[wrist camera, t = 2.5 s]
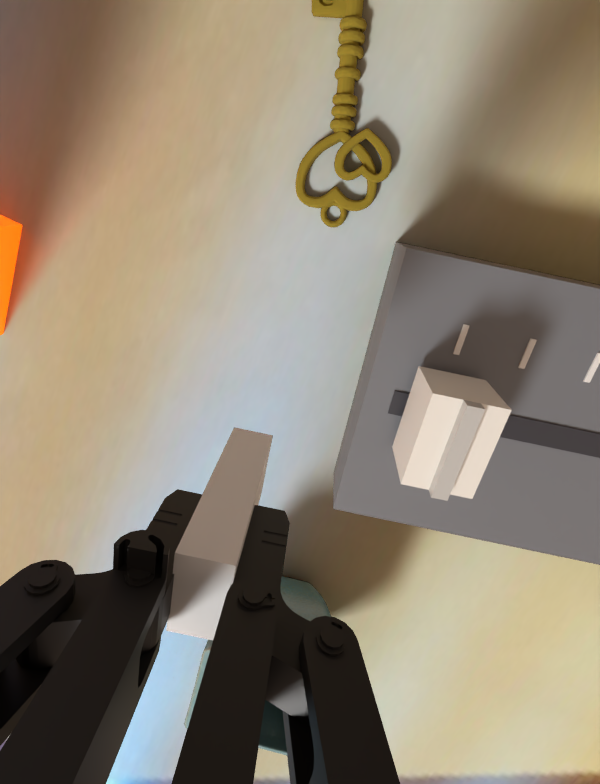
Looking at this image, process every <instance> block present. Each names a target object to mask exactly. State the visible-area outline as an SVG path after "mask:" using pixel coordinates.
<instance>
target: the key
mask: <svg viewBox="0 0 600 784" xmlns="http://www.w3.org/2000/svg"><path fill="white" fill-rule="evenodd" d="M363 2H364V0H312V13H313V16H317V17H332V18H343V19H342V20H341V22H340V28H341V30H342V32H341V33H340V34H339V38H338V39H339V43H340V44H341V46H340V47H339V48H338V52H337V54H338V57H339V58H340V65H339V68H338V69H337V70H336V72H335V77H336V79H338V86H337V94H336V95H334V97H333V103H334V104H335V105H336V106H334V107H333V108H332V112H331V113H332V115H333V116H335V117H334V120H332V121H331V123H330V127H331V129H334V133H333V134H331V135H329V136H327V137H326V138H324V139H322V140H321V141H319V142H318V143H316V144H315V145H314V146H313V147H312V148H311V149H310V150H309V151H308V152H307V154H306V155H305V156H304V158H303V159H302V161H301V163H300V166H299V169H298V172H297V177H296V192H297V196H298V198H299V199H300V201H301V202H303V203H304V204H306V205H307V206H309V207H315V208H321V218H322V221H323V222H324V223H325V224H326V225H327V226H329V227H338V226H339V225H341V224H342V223H343V222H344V221H345V219H346V215H347V210H348V211H359V210H362V209H365V208H367V207H368V206H369V205H370V204H371V203H372V202H373V200H374V197H375V195H376V190H377V183H378V182H381V181H383V180H384V179H386V178H387V177H388V175H389V173H390V171H391V166H392V159H391V155H390V152H389V150H388V148H387V147H386V145H385V144H384V143H383V142H382V141H381V140H380V138H379V137H378V136H377V135H375V134H374V133H373V132H372V131H371V130H370V129H369V128H366V129H364V130H363V131H361V132H359V133H358V134H356V135H354V136H353V137H352V136H350V135H349V134H348V133H349V130H350V131H352V130H354V128H355V123H354V122H353V121H351V117H352V118H354V117H355V116H356V113H357V111H356V108H354V107H352V106H355V105H357V102H358V98H357V96H355V95H353V94H354V85H355V81H358V80H359V79H360V76H361V73H360V71H359V70H358V69H356V66H357V59H359V60H360V59H361V58H362V57H363V54H364V52H363V48H362V47H360V46H362V45H363V44H364V42H365V35H364V34H363V32H365V30H366V27H367V23H366V21H365V20H364V19H363V18H362V11H363ZM365 139H367V140H368V141H369V142H370V143H371V144H372V145H373V146H374V147H375V149H376V150H377V152H378V153H379V155H380V157H381V161H382V168H381V171H380V172H379V173H378V174H376V169H375V165H374V163H373V160H372V158H371V157H370V155H369V153H368V152H367V151H366V149H365V148H364V147H363V146H362V145H361V144H360V142H361V141H363V140H365ZM338 142H342V143H344V144H343V145H342V146H341V148H340V149H339V150H338V152H337V154H336V158H335V162H334V166H335V171H336V173H337V175H338V176H339V177H340V178H342V179H344V180H353V179H355V178H357V177H358V176H360V175H363V176H364V177H365V178H366V179H367V185H368V186H367V194H366V196H365V198H363V199H362V200H357V201H356V200H351V199H349V198H347V197H346V196H345V195H344V194H343V193H342V192H341V191H340V190H339V188H338V187H337V186H335V187H333V188H332V189H331V190H330V191H329V192H328V193H326V194H324V195H322V196H319V197H313V196H309V195H308V194H307V193H306V191H305V180H306V176H307V173H308V171H309V169H310V167H311V165H312V164H313V162H314V161H315V159H316V158H317V157H318V156H319V155H320V154H321V153H322V152H323V151H324V150H326V149H328V148H329V147H331V146H333V145H335V144H337V143H338ZM351 150H352V151H353V152H354V153H355V154H356V155H357V157H358V158H359V160H360V161H361V163H362V165H361V166H360V167H359V168H357V169H356V170H354V171H352V172H347V171H346V170H345V169H344V161H345V158H346V156H347V154H348V153H349V152H350V151H351ZM331 206H337V207H338V208H339V209H340V212H341V214H340V217H339V219H337V220H335V221H332V220H330V219H329V218H328V217H327V210H328V208H329V207H331Z"/></svg>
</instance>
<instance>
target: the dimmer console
mask: <svg viewBox="0 0 600 784" xmlns="http://www.w3.org/2000/svg"><path fill="white" fill-rule="evenodd" d="M419 366H421V367H426V368H431V369H435V370H440V371H445V372H450V373H454V374H459V375H464V376H469V377H473V378H478V379H483V380H486V381H487V382H488V383H489V384H490V385H491V387H492V388H493V389H494V390H495V391H496V392H497V394H498V395H499V396H500V397H501V398H502V399H503V400H504V402H505V403H506V404H507V405H508V406H509V407H510V409H511V413H510V415H509V417H508V420H507V422H506V424H505V426H504V429H503V431H502V433H501V435H500V438H499V440H498V442H497V444H496V447H495V449H494V451H493V453H492V456H491V458H490V460H489V462H488V465H487V467H486V469H485V471H484V474H483V476H482V478H481V480H480V483H479V485H478V487H477V489H476V492H475V494H474V496H473V499H470V498H465V497H460V496H455V495H450V496H449V498H448V501H445V500H441V499H436V498H431V496H430V493H429V490H427V489H422V488H417V487H412V486H408V485H403V484H401V483H400V478H399V474H398V470H397V465H396V461H395V457H394V452H393V448H392V446H393V443H394V440H395V437H396V434H397V431H398V428H399V425H400V421H401V418H402V415H403V412H404V409H405V406H406V403H407V400H408V397H409V394H410V391H411V388H412V385H413V382H414V379H415V376H416V373H417V370H418V367H419ZM333 509H336V510H341V511H345V512H350V513H355V514H360V515H364V516H369V517H374V518H379V519H384V520H388V521H393V522H398V523H403V524H407V525H412V526H417V527H422V528H427V529H431V530H436V531H441V532H446V533H450V534H455V535H460V536H465V537H470V538H474V539H479V540H484V541H489V542H493V543H498V544H503V545H508V546H513V547H517V548H522V549H527V550H532V551H536V552H541V553H546V554H551V555H556V556H560V557H565V558H570V559H575V560H579V561H584V562H589V563H594V564H599V565H600V285H597V284H592V283H588V282H583V281H578V280H574V279H569V278H564V277H559V276H555V275H550V274H545V273H541V272H536V271H531V270H526V269H522V268H517V267H512V266H507V265H503V264H498V263H493V262H489V261H484V260H479V259H474V258H470V257H465V256H460V255H456V254H451V253H446V252H441V251H437V250H432V249H427V248H423V247H418V246H413V245H408V244H404V243H399V242H396V244H395V248H394V252H393V255H392V259H391V263H390V266H389V270H388V274H387V278H386V281H385V285H384V289H383V292H382V296H381V300H380V303H379V307H378V311H377V315H376V318H375V322H374V326H373V329H372V333H371V337H370V340H369V344H368V348H367V352H366V355H365V359H364V363H363V366H362V370H361V374H360V377H359V381H358V385H357V389H356V392H355V396H354V400H353V403H352V407H351V411H350V414H349V418H348V422H347V425H346V429H345V433H344V437H343V440H342V444H341V448H340V451H339V455H338V459H337V462H336V466H335V470H334V484H333Z"/></svg>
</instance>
